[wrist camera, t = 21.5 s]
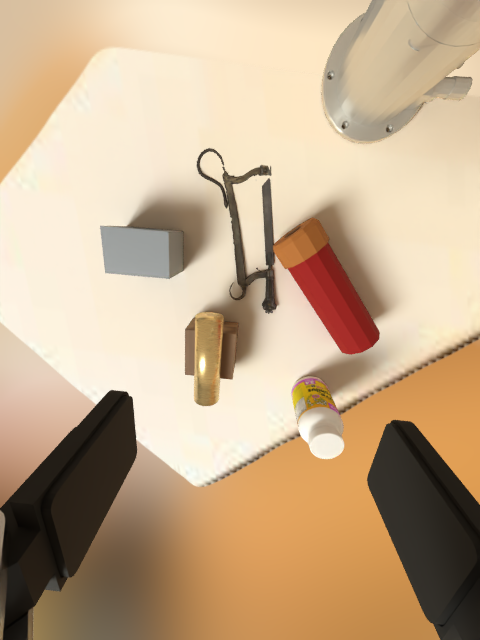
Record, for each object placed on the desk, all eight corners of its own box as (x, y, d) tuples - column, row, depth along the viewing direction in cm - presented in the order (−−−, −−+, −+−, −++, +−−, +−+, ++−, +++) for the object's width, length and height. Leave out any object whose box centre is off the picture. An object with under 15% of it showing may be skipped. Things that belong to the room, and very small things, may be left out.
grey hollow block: (126, 226, 38) (100, 225, 32) (183, 231, 38) (168, 231, 31) (129, 265, 40) (105, 272, 34) (183, 270, 40) (169, 278, 33)
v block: (238, 322, 42) (236, 334, 38) (234, 363, 45) (232, 379, 40) (192, 318, 43) (185, 329, 38) (192, 359, 45) (185, 374, 41)
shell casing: (309, 216, 36) (320, 213, 30) (370, 322, 41) (392, 340, 35) (269, 245, 38) (271, 248, 31) (333, 343, 43) (346, 364, 36)
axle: (199, 310, 37) (191, 319, 34) (225, 313, 37) (221, 323, 33) (197, 388, 42) (190, 404, 38) (220, 391, 42) (216, 407, 38)
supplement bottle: (334, 383, 45) (362, 439, 33) (314, 409, 48) (334, 471, 36) (302, 369, 45) (319, 420, 33) (284, 396, 47) (293, 453, 35)
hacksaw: (276, 311, 42) (277, 314, 40) (215, 315, 42) (214, 318, 41) (270, 142, 33) (270, 138, 32) (195, 151, 34) (192, 147, 33)
